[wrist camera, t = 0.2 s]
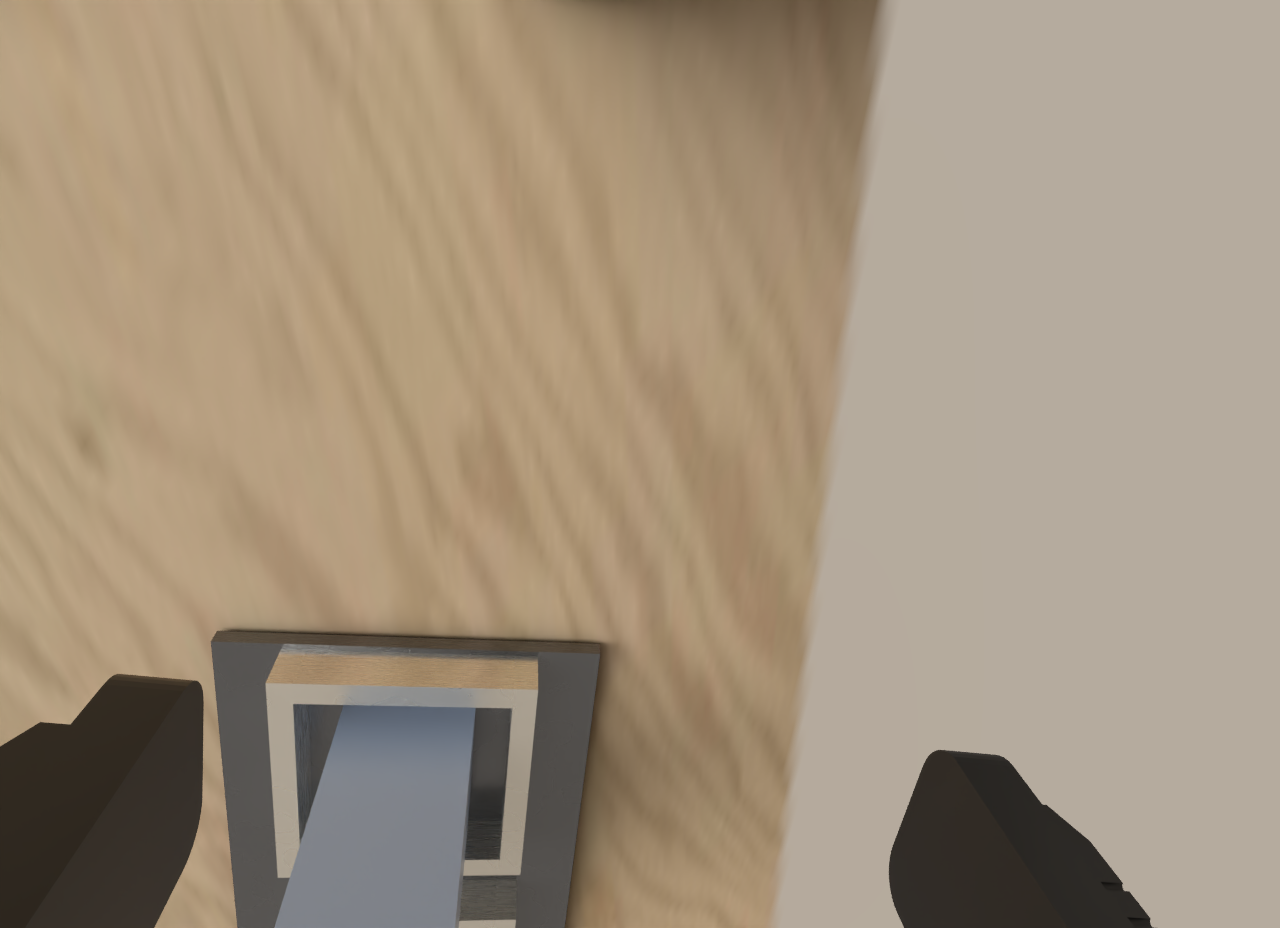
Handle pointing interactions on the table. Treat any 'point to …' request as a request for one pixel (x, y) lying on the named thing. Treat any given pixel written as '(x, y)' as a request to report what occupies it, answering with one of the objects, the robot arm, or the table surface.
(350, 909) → the plug
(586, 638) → the table surface
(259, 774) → the panel
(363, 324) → the table surface
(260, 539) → the table surface
